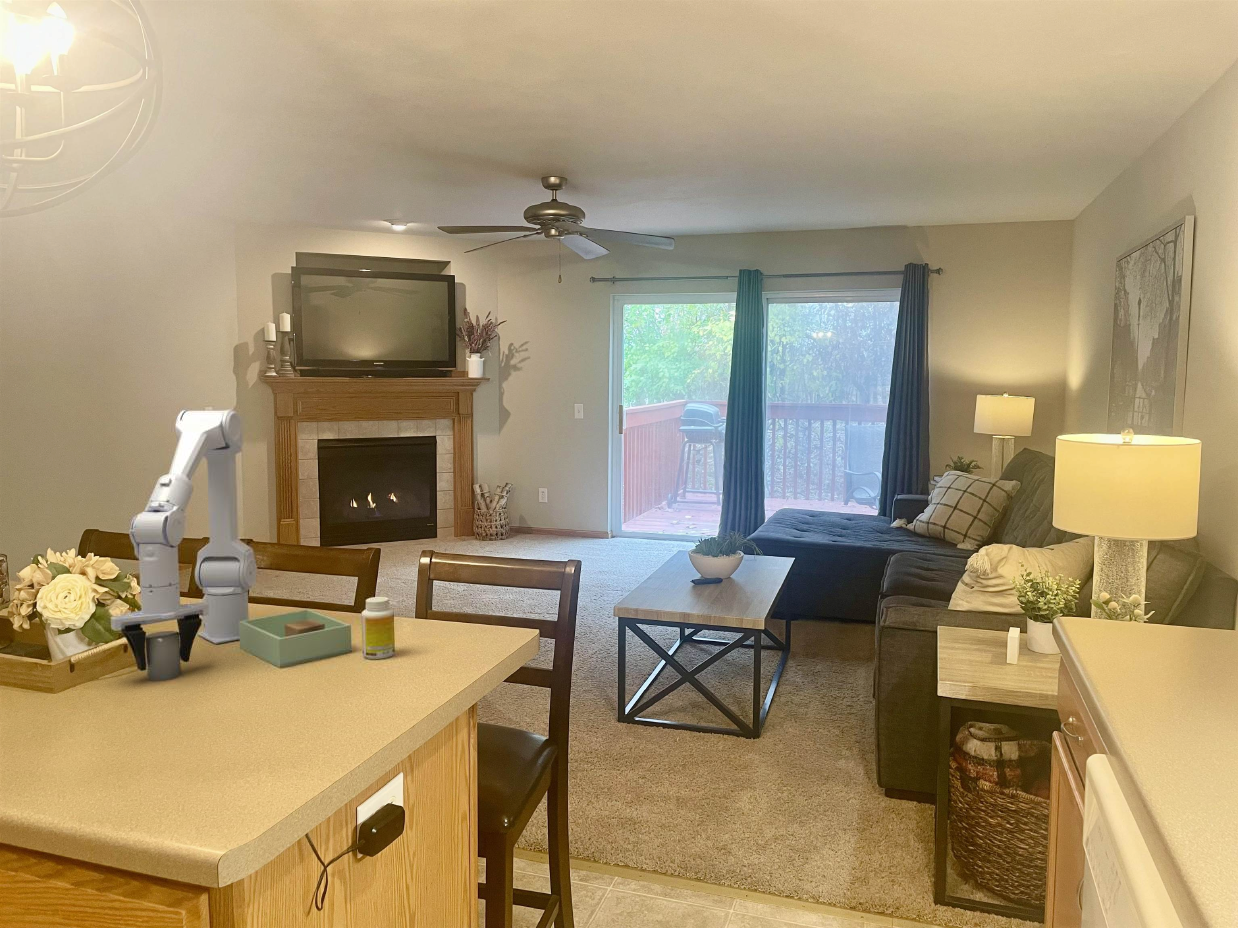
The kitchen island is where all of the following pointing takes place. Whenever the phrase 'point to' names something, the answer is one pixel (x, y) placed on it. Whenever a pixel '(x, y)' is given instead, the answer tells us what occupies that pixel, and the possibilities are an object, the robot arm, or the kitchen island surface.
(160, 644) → the cylinder
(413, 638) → the kitchen island surface
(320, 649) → the tote
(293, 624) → the cube
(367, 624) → the supplement bottle
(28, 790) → the kitchen island surface
